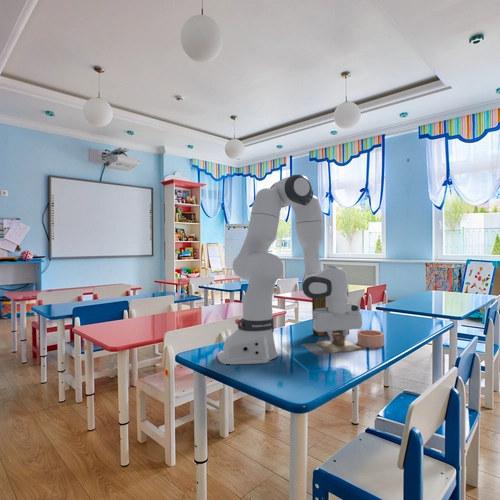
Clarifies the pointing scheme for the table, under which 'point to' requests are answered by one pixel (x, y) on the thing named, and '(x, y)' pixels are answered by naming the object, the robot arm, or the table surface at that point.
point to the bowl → (370, 338)
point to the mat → (320, 349)
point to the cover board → (338, 349)
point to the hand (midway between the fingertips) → (337, 341)
